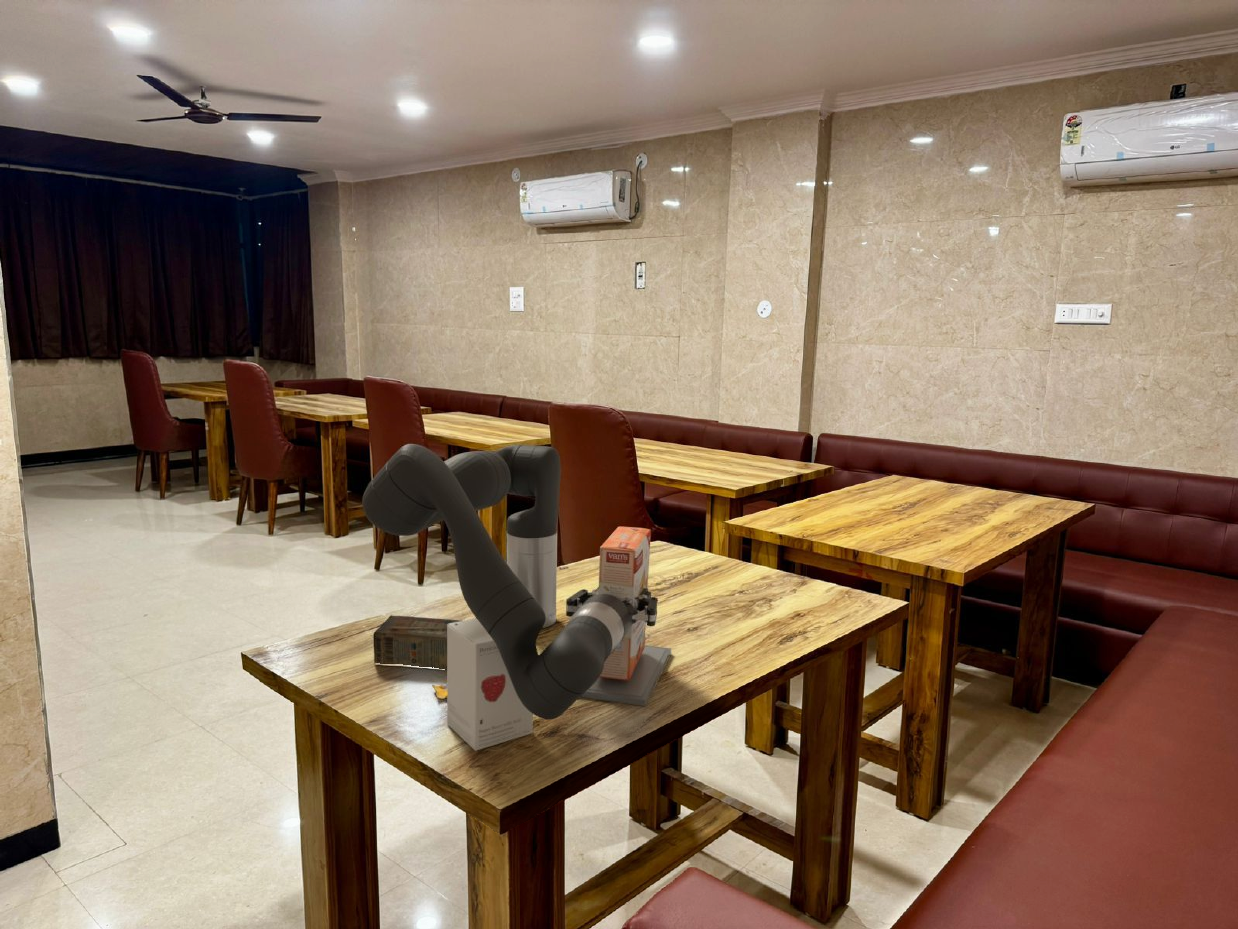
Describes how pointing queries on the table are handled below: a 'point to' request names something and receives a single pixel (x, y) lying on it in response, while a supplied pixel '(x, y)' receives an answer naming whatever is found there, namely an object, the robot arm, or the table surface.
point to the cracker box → (625, 592)
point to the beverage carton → (412, 641)
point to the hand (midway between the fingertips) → (626, 592)
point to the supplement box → (481, 689)
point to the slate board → (633, 680)
